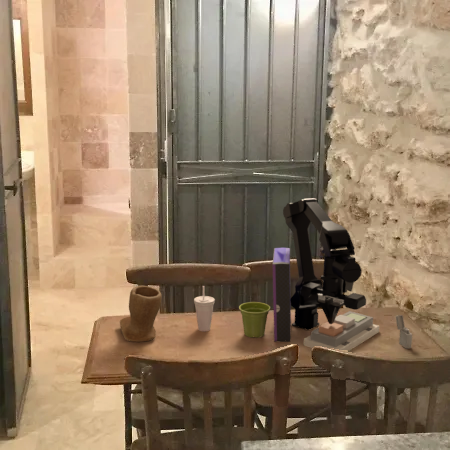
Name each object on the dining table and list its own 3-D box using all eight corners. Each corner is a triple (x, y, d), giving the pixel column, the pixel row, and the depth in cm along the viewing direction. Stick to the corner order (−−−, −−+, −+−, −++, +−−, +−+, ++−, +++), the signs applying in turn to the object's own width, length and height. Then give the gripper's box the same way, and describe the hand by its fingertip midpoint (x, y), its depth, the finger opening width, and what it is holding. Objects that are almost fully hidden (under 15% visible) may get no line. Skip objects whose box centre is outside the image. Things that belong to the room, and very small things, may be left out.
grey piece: (303, 345, 193) (304, 330, 192) (344, 322, 211) (345, 309, 210) (339, 356, 186) (340, 341, 185) (378, 331, 203) (379, 318, 202)
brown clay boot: (164, 343, 194) (164, 294, 190) (123, 346, 191) (122, 297, 188) (157, 324, 208) (157, 278, 205) (119, 327, 206) (118, 280, 202)
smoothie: (190, 331, 203) (190, 287, 199) (199, 323, 208) (199, 281, 205) (209, 334, 200) (209, 290, 197) (217, 326, 206) (218, 284, 203)
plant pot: (232, 334, 201) (232, 307, 199) (252, 325, 207) (252, 299, 205) (255, 343, 194) (256, 315, 192) (275, 334, 201) (276, 307, 199)
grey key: (331, 327, 197) (331, 319, 196) (339, 322, 201) (340, 314, 200) (346, 331, 194) (346, 323, 193) (354, 326, 198) (354, 318, 197)
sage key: (342, 325, 203) (343, 317, 202) (351, 320, 206) (351, 313, 206) (357, 329, 200) (357, 321, 199) (365, 324, 203) (365, 316, 203)
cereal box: (275, 319, 212) (274, 247, 207) (290, 320, 212) (289, 247, 206) (274, 341, 195) (272, 263, 190) (290, 341, 195) (289, 263, 190)
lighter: (411, 348, 192) (413, 322, 190) (406, 348, 191) (408, 322, 190) (398, 338, 199) (400, 313, 197) (393, 339, 198) (395, 313, 196)
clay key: (318, 334, 192) (319, 325, 191) (327, 329, 196) (328, 321, 195) (333, 338, 189) (334, 330, 188) (342, 333, 192) (343, 325, 192)
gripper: (376, 272, 188) (373, 323, 192) (320, 259, 200) (318, 308, 203) (357, 281, 180) (354, 335, 183) (299, 267, 191) (298, 318, 195)
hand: (331, 323), depth 191 cm, fingers closed
